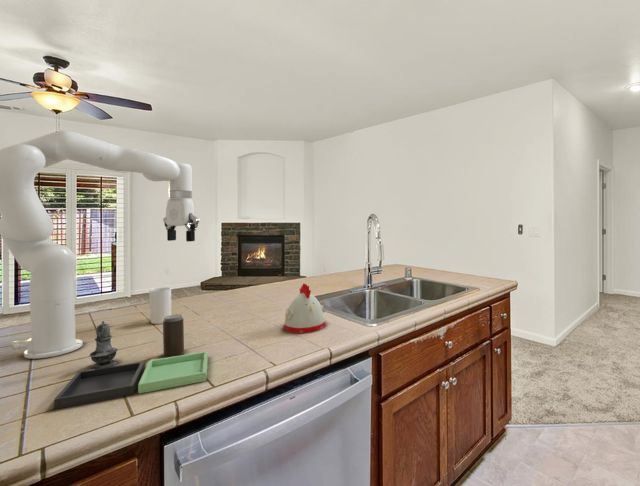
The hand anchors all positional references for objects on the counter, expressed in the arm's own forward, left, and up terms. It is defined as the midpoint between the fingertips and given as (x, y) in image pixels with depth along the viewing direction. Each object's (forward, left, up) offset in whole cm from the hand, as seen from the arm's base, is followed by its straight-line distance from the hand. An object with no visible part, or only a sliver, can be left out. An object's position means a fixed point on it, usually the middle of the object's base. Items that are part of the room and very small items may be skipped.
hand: (181, 240), depth 139 cm
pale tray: (+3, -54, -30) cm, 62 cm away
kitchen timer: (+40, -31, -30) cm, 59 cm away
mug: (-7, 0, -30) cm, 30 cm away
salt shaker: (-15, -39, -30) cm, 52 cm away
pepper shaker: (+1, -39, -30) cm, 49 cm away
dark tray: (-12, -54, -30) cm, 63 cm away
